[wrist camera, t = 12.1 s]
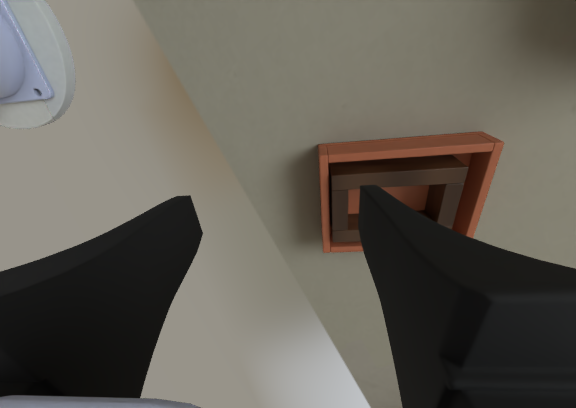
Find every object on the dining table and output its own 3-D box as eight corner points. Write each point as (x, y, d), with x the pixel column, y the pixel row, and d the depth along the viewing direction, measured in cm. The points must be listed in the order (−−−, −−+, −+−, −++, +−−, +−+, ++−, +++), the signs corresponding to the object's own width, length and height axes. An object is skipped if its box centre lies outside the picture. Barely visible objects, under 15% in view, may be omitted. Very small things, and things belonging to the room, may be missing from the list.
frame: (330, 225, 23) (332, 242, 21) (329, 162, 20) (331, 175, 18) (436, 220, 22) (449, 238, 20) (452, 154, 19) (469, 166, 17)
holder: (321, 235, 24) (323, 253, 22) (317, 144, 20) (319, 155, 18) (455, 229, 23) (470, 248, 21) (482, 131, 19) (505, 141, 17)
